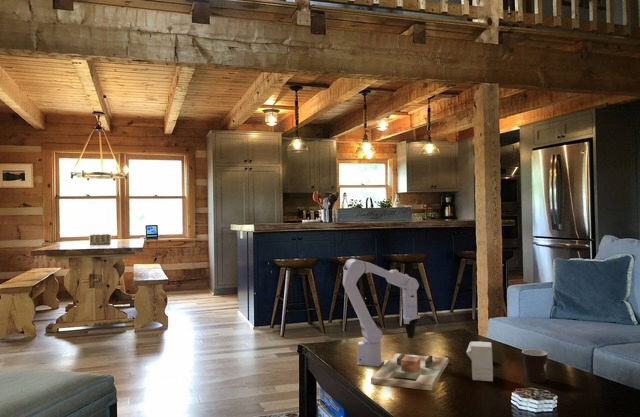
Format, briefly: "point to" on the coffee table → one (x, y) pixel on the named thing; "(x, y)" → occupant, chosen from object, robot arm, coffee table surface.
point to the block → (410, 364)
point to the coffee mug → (535, 365)
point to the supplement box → (482, 361)
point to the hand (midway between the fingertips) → (410, 337)
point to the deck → (425, 375)
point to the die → (470, 350)
